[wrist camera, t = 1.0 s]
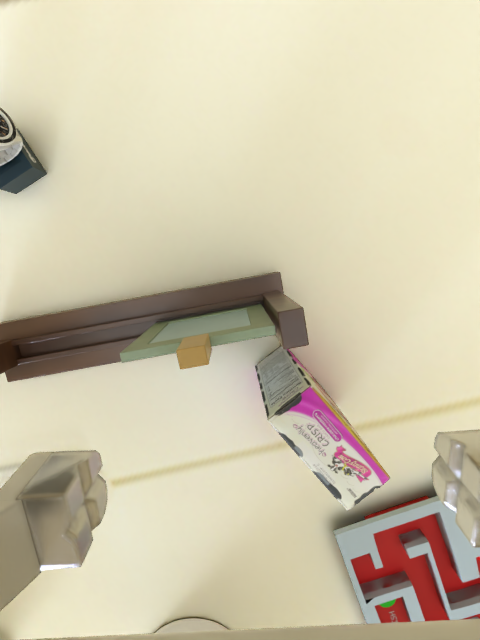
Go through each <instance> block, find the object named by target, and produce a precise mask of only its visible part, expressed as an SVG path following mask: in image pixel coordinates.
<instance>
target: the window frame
mask: <svg viewBox="0 0 480 640" xmlns="http://www.w3.org/2000/svg"><path fill="white" fill-rule="evenodd" d="M260 303H261V305H262V306H263V308H264V310H265V311H266V313H267V314H268V316H269V318H270V319H271V321H272V322H273V324H274V325H275V331H276V337H277V338H278V340H279V342H280V344H281V345H282V347H283V349H290V348H295V347H301V346H306V345H309V342H308V336H307V329H306V323H305V316H304V310H303V307H301V306H300V305H298V304H297V303H296V302H294V301H293V300H291V299H290V298H289V297H287V296H286V295H284V293H283V287H282V281H281V275H280V272H273V273H268V274H262V275H257V276H251V277H246V278H241V279H235V280H230V281H224V282H219V283H213V284H208V285H202V286H197V287H192V288H186V289H181V290H175V291H170V292H164V293H159V294H153V295H148V296H142V297H137V298H132V299H126V300H121V301H115V302H110V303H104V304H99V305H93V306H88V307H83V308H77V309H72V310H66V311H61V312H55V313H50V314H44V315H39V316H33V317H28V318H23V319H17V320H12V321H6V322H1V323H0V374H2V373H4V372H5V374H6V377H7V380H8V382H12V381H17V380H23V379H28V378H34V377H39V376H45V375H50V374H56V373H61V372H67V371H72V370H78V369H83V368H89V367H94V366H100V365H105V364H111V363H116V362H122V361H121V357H120V353H121V352H122V351H123V350H124V349H125V348H127V347H128V346H129V345H130V344H131V343H132V342H134V341H135V340H136V339H137V338H138V337H140V336H141V335H142V334H143V333H144V332H145V331H147V330H148V329H149V328H150V327H151V326H152V325H154V324H155V323H156V322H161V321H167V320H172V319H178V318H183V317H189V316H194V315H200V314H205V313H211V312H216V311H221V310H227V309H232V308H238V307H243V306H249V305H254V304H260Z"/></svg>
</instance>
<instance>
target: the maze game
mask: <svg viewBox="0 0 480 640" xmlns="http://www.w3.org/2000/svg"><path fill="white" fill-rule="evenodd" d="M364 518H365V520H363V521H360V522H357V523H354V524H351V525H349V526H346V527H343V528H340V529H337V530H334V531H333V532H334V534H335V537H336V540H337V543H338V545H339V548H340V551H341V554H342V557H343V559H344V562H345V565H346V568H347V570H348V573H349V576H350V579H351V582H352V584H353V587H354V590H355V593H356V595H357V598H358V601H359V604H360V607H361V609H362V612H363V615H364V618H365V620H366V623H367V624H373V623H395V622H417V621H439V620H461V619H480V548H473V547H472V545H471V544H470V542H469V541H468V540H467V538H466V537H465V535H464V534H463V532H462V531H461V530H460V528H459V527H458V525H457V524H456V522H455V518H456V513H455V512H453V511H452V510H450V509H448V508H447V507H445V506H444V505H443V504H442V502H441V501H440V499H439V498H438V496H435V497H432V498H428V497H427V496H424V497H421V498H418V499H415V500H412V501H409V502H406V503H403V504H400V505H397V506H394V507H391V508H388V509H385V510H382V511H379V512H376V513H373V514H371V515H368V516H365V517H364Z"/></svg>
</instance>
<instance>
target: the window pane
mask: <svg viewBox="0 0 480 640" xmlns="http://www.w3.org/2000/svg"><path fill="white" fill-rule="evenodd" d="M271 335H276V331H275V325H274V324H273V322H272V321H271V319H270V318H269V316H268V314H267V313H266V311H265V310H264V308H263V306H262V305H261V303H260V304H254V305H249V306H243V307H238V308H232V309H227V310H221V311H216V312H211V313H205V314H200V315H194V316H189V317H183V318H178V319H172V320H167V321H161V322H156V323H155V324H154V325H152V326H151V327H150V328H149V329H148V330H147V331H145V332H144V333H143V334H142V335H141V336H140V337H138V338H137V339H136V340H135V341H134V342H132V343H131V344H130V345H129V346H128V347H127V348H125V349H124V350H123V351H122V352H121V353H120V357H121V361H122V363H123V362H128V361H134V360H139V359H145V358H150V357H156V356H161V355H167V354H172V353H177V357H178V362H179V366H180V369H186V368H192V367H197V366H203V365H208V364H209V360H210V355H211V351H212V348H211V346H216V345H222V344H227V343H233V342H238V341H244V340H249V339H255V338H260V337H266V336H271Z"/></svg>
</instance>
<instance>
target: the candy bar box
mask: <svg viewBox="0 0 480 640" xmlns="http://www.w3.org/2000/svg"><path fill="white" fill-rule="evenodd" d="M255 367H256V372H257V376H258V380H259V384H260V389H261V393H262V397H263V401H264V405H265V408H266V413H267V418H268V422H269V423H270V424H271V425H272V426H273V427H274V428H275V430H276V431H277V432H278V433H279V434H280V435H281V437H282V438H283V439H284V440H285V441H286V442H287V443H288V445H289V446H290V447H291V448H292V449H293V450H294V451H295V453H296V454H297V455H298V456H299V457H300V458H301V459H302V460H303V462H304V463H305V464H306V465H307V466H308V467H309V468H310V469H311V471H312V472H313V473H314V474H315V475H316V476H317V478H318V479H319V480H320V481H321V482H322V483H323V484H324V485H325V487H326V488H327V489H328V490H329V491H330V492H331V493H332V494H333V495H334V497H335V498H336V499H337V500H338V501H339V502H340V503H341V504H342V505H343V506H344V508H345V509H346V510H347V511H348V510H350V509H351V508H352V507H354V506H355V505H356V504H357V503H359V502H360V501H361V500H362V499H363V498H365V497H366V496H368V495H369V494H370V493H372V492H373V491H374V489H375V488H380V487H381V486H382V485H383V484H384V483H385V482H387V481H388V480H389V479H390V477H389V475H388V474H387V473H386V471H385V470H384V469H383V467H382V466H381V465H380V463H379V462H378V461H377V459H376V458H375V456H374V455H373V454H372V452H371V451H370V450H369V448H368V447H367V446H366V444H365V443H364V442H363V440H362V439H361V438H360V436H359V435H358V434H357V432H356V431H355V430H354V428H353V427H352V426H351V424H350V423H349V422H348V420H347V419H346V418H345V416H344V415H343V414H342V412H341V411H340V410H339V408H338V407H337V406H336V404H335V403H334V402H333V401H332V399H331V398H330V397H329V395H328V394H327V393H326V392H325V391H324V389H323V388H322V387H321V386H320V385H319V383H318V382H317V381H316V380H315V379H314V378H313V376H312V375H311V374H310V373H309V372H308V371H307V369H306V368H305V367H304V366H303V365H302V364H301V363H300V361H299V360H298V359H297V358H296V357H295V356H294V355H293V354H292V352H291V351H290V350H289V349H283V347H282V345H281V346H280V347H279V348H277V349H276V350H275V351H274V352H273V353H272V354H270V355H269V356H268V357H266V358H265V359H264V360H262V361H261V362H260V363H259V364H257V365H256V366H255Z"/></svg>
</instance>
